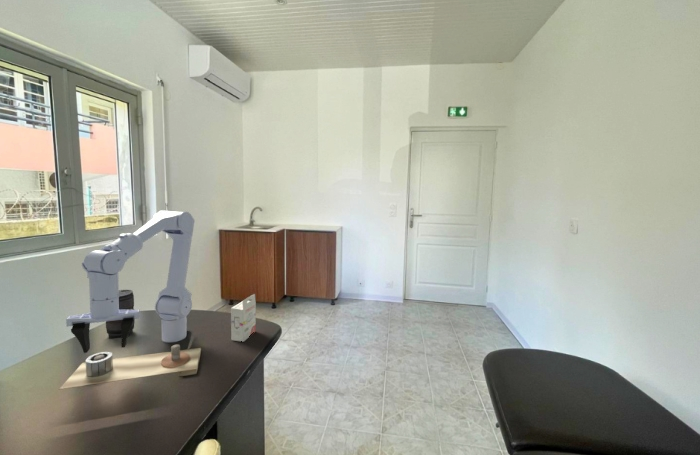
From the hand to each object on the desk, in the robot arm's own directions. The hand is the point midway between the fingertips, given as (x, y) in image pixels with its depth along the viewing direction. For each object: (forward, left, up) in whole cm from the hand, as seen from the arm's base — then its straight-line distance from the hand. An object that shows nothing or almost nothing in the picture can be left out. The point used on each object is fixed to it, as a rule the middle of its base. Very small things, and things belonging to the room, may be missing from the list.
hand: (105, 348), depth 78 cm
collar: (-4, -3, -8) cm, 9 cm away
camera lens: (-30, -6, -10) cm, 32 cm away
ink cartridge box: (-18, +34, -10) cm, 40 cm away
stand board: (-4, +6, -10) cm, 12 cm away
